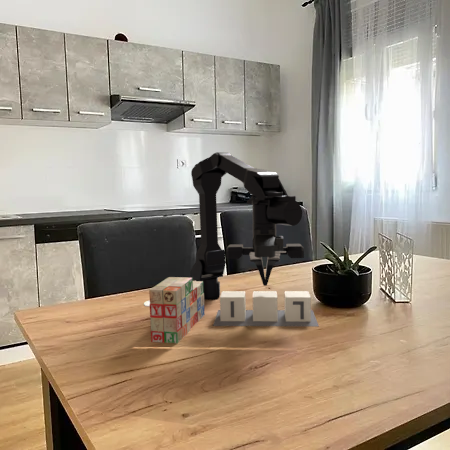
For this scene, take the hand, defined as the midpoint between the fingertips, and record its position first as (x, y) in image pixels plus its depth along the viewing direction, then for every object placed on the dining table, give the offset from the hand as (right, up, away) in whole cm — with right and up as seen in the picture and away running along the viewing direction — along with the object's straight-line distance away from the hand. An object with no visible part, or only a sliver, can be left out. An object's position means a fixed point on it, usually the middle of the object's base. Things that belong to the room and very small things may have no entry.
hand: (265, 285), depth 112 cm
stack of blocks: (-21, -10, -5) cm, 23 cm away
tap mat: (0, -9, +1) cm, 9 cm away
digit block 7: (+8, -8, 0) cm, 11 cm away
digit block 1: (-8, -8, +2) cm, 12 cm away
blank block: (0, -8, +1) cm, 8 cm away
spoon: (-29, -8, +23) cm, 38 cm away
